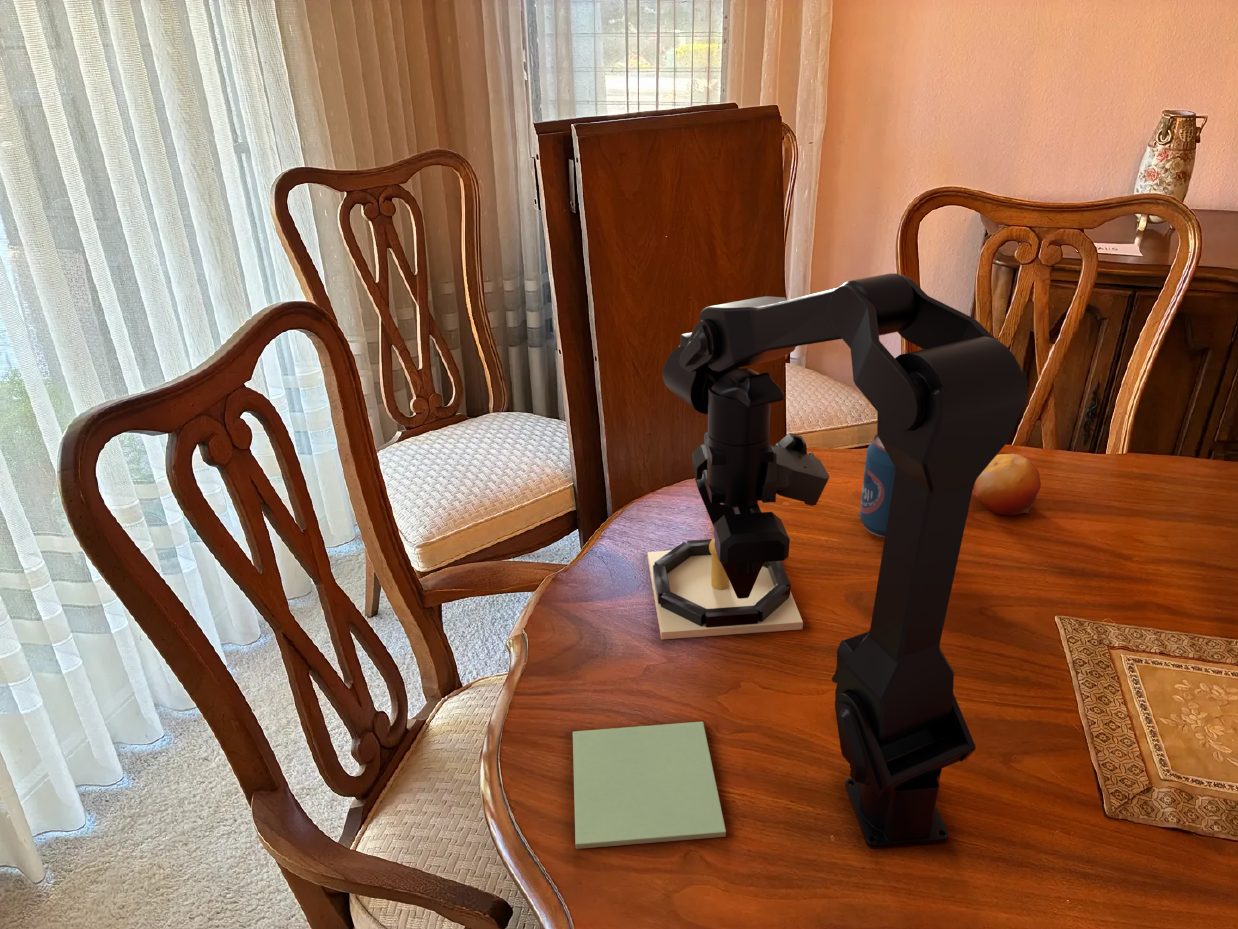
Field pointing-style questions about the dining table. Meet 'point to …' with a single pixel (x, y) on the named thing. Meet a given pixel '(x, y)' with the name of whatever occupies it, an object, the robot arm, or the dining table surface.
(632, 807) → the mat
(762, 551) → the robot arm
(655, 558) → the stand
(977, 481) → the fruit
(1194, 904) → the dining table surface
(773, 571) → the ring
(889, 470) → the soda can
